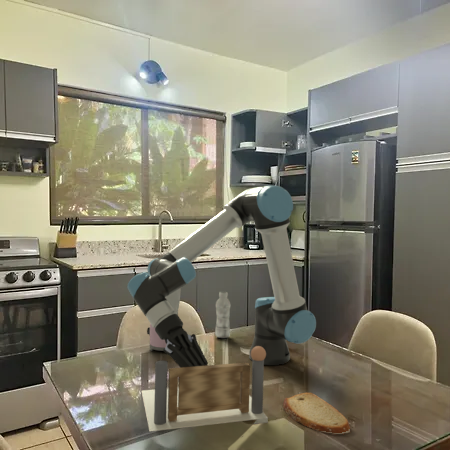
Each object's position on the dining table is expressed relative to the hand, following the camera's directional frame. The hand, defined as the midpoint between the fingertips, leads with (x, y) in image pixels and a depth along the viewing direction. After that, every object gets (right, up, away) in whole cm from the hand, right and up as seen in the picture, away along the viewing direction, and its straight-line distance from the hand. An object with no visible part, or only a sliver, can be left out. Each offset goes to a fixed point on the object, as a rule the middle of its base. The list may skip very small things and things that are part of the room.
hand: (214, 392), depth 110 cm
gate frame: (-4, -6, +5) cm, 9 cm away
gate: (-1, -4, -3) cm, 5 cm away
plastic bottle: (+2, -5, +73) cm, 73 cm away
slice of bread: (+27, -7, +2) cm, 28 cm away
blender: (-23, -5, +56) cm, 60 cm away
